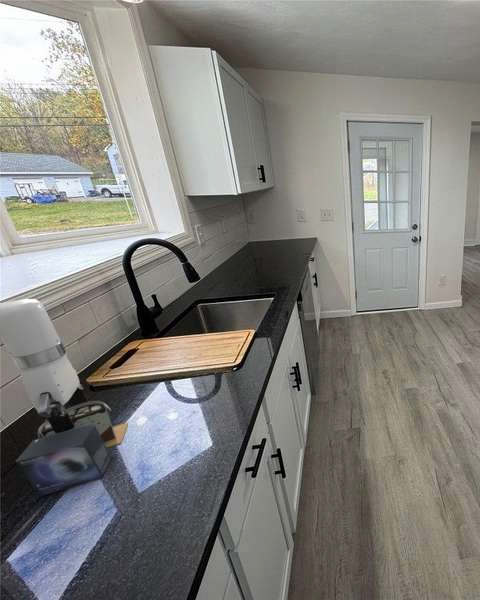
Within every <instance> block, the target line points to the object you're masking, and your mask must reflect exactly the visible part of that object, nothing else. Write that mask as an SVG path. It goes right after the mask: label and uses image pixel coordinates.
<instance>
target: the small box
mask: <svg viewBox="0 0 480 600" xmlns="http://www.w3.org/2000/svg"><path fill="white" fill-rule="evenodd" d="M113 459H114V457H113V455H112V454H111V452H110V450H109V448H107V447H106V445H105V443H104V441H103V440H102V438H101V436H100V434H99V433H98V431H97V429H96V426H95V424H92V425H88V426H84V427H81V428H77V429H73V430H69V431H65V432H62V433H58V434H54V435H50V436H47V437H41V438H39V437H38V438H35V439H33V440H32V441H31V442H30V443H29V445H28V446H26V449H25V450H24V451H23V452H22V453H21V454H20V456H19V457H18V458H17V459H16V461H15V463H16V464H17V465H18V466H19V468H20V469H21V470H22V472H23V473H24V475H25V476H26V478H27V479H28V480H29V482H30V483H31V484H32V486H33V487H34V489H35V490H36V491H37V493H38V494H39V495H40V497H42V498H43V497H45V496H47V495H51V494H54V493H58V492H62V491H65V490H67V489H71V488H74V487H76V486H80V485H83V484H86V483H90V482H93V481H97V480H100V479H102V478H103V477H104V476H105V474H106V472H107V470H108V468H109V466H110V464H111V462H112V460H113Z"/></svg>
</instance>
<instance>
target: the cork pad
mask: <svg viewBox="0 0 480 600" xmlns="http://www.w3.org/2000/svg"><path fill="white" fill-rule="evenodd" d="M128 425H129V422H125V423H122V424H119V425H115V426H112V427H113V430H114V433H115V436H116V439H115V440H112V441H110V442H108V443H106V444H105V445H106V447H107V448H108V449H109V448H112V447H115V446H117V445H120V444H122V441H123V439H124V436H125V434H126V432H127V428H128Z"/></svg>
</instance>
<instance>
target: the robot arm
mask: <svg viewBox="0 0 480 600" xmlns="http://www.w3.org/2000/svg"><path fill="white" fill-rule="evenodd" d="M0 340H1V342H2V344H3V345H4V347H5V348H6V350H7V353H8V354H9V356H10V358H11V360H12V361H13V362H14V364H15V367H16V368H17V370H19V371H20V376H21V379H22V383H23V386H24V388H25V391H26V393H27V395H28V397H29V400H30V402H31V403H32V405H33V407H34V409H35V410H36V411H37V414H38V415H39V416H41V418H42V419H43V420H45V422H46V421H48V422H49V423H50V425H51V427H52V429H53V430H54V432H55V433H61V432H64V431H67V430H71V429H73V428H74V427H75V425H74V423H73V421H72V420H71V418H70V416H69V414H68V413H66V414H65V410H66V405H65V404H67V403H68V404H69V405H70V407H73V406H76V405H78V404H82V403H86V402H90V401H89V399H88V396H87V395H86V392H85V390H84V387H83V385H82V384H81V383H80V380H81V379H80V378H79V376H78V373H77V370H76V369H75V368H74V367H73V365H72V363H71V361H70V360H69V358H68V357H67V356H68V352H67V350H66V349H65V346H64V344H63V342H62V340H61V339H60V336H59V334H58V333H57V329H56V328H55V326H54V324H53V322H52V320H51V318H50V317H49V314H48V312H47V310H46V308H45V306H44V305H43V303H42V302H40V300H37V299H35V298H34V299H33V298H25V299H18V300H17V299H16V300H12V301H8V302H0ZM54 408H58V410H52V409H54Z"/></svg>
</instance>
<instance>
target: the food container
mask: <svg viewBox="0 0 480 600" xmlns="http://www.w3.org/2000/svg"><path fill="white" fill-rule="evenodd" d="M108 410H109V411H108ZM111 411H112V409H111V408H110V407H109V406H108V404H107V403H105V402H103V401H101V400H93V401H91V400H90V401H89V402H86V403H82V404H78V405H76V406H73V407H71V406H70V407H68V408H65V414H66V413H68V414H69V416H70V418H71V420H72V421H73V423H74V425H75V427H74V428H73V429H77V428H81V427H84V426H88V425H92V424H95V426H96V429H97V431H98V433H99V434H100V436H101V438H102V440H103V441H104V443H105V444H106V443H108V442H110V441H112V440H115V439H116V436H115V433H114V430H113V427H114V426H113V424H112V421H111V418H110V415H109V412H111ZM73 429H71V430H73ZM67 431H69V430H67ZM64 432H65V431H64ZM61 433H62V432H61ZM54 434H58V433H55V432H54V430H53V429H52V427H51V425H50V423H49V422H48V421H46V420H45V421H44V422H43V423H42V424H41V425H39V427H38V430H37V437H38V439H39V438H43V437H47V436H50V435H54Z"/></svg>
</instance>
